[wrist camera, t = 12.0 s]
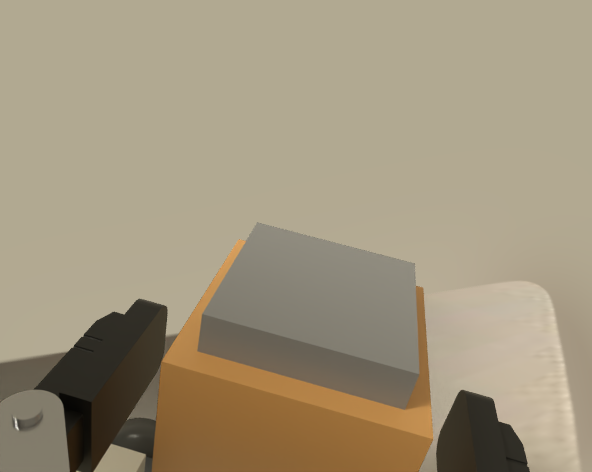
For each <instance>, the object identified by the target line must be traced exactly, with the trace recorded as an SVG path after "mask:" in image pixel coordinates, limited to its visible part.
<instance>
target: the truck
mask: <svg viewBox="0 0 592 472" xmlns="http://www.w3.org/2000/svg"><path fill="white" fill-rule="evenodd" d="M155 427H156V421H154V420H151V419H146V418H134V419H129V420H127V421H125V423H124V425H123V426H122V428H121V429H120V431H119V432H118V434H117V436H116V437H115V439H114V440H113V442H112V443H111V445H110V447H109V448H108V450H107V451H106V453H105V454H104V456H103V458H102V459H101V461H100V462H99V464H98V465H97V467H96V469H95V470H94V472H152V461H153V450H154V439H155ZM76 472H80V471H76Z"/></svg>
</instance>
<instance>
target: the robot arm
mask: <svg viewBox="0 0 592 472" xmlns="http://www.w3.org/2000/svg"><path fill="white" fill-rule="evenodd" d="M166 322H167V307H166V306H164V305H161V304H157V303H154V302H150V301H147V300H142V299H138V300H136V302H135V303H134V304H133V305H132V306H131V307H130V309H129V310H128V311H127V312H126V313H125V315H123V314H120V313H117V312H112V313H111V314H109V315H107V316H105V317H103V318H101V319H99V320H97V321H96V322H95V323H94V324H93V325H92V326H91V327H90V328H89V330H88V331H87V332H86V333H85V334H84V337H81V338H80V339H79V341H78V342H77V343H76V344H75V345H74V347H73V348H71V349H70V350H69V351H68V353H67V354H66V355H65V356H64V357H63V358H62V359H61V360H60V361H59V362H58V364H57V365H56V366H55V367H54V368H53V369H52V370H51V371H50V372H49V373H48V375H47V376H46V377H45V378H44V379H43V380H42V381H41V382H40V383H39V384H38V386H37V387H36V388H35V389H34V390H26V391H22V392H18V393H16V394H13V395H11V396H9V397H7V398H6V399H4V400H3V401H1V402H0V472H76V471H80V472H94V470H95V469H96V467H97V465H98V464H99V462H100V461H101V459H102V458H103V456H104V454H105V453H106V451H107V450H108V448H109V447H110V445H111V443H112V442H113V440H114V439H115V437H116V436H117V434H118V432H119V431H120V429H121V428H122V426H123V425H124V423H125V421H126V420H127V418H128V417H129V415H130V413H131V412H132V410H133V409H134V407H135V406H136V404H137V402H138V401H139V399H140V398H141V396H142V395H143V393H144V391H145V390H146V388H147V387H148V385H149V384H150V382H151V380H152V379H153V377H154V376H155V374H156V372H157V370H158V368H159V366H160V364H161V361H162V357H163V353H164V346H165V334H166ZM436 458H437V472H530V471H529V467H527V459H526V455H525V451H524V447H523V444H522V442H521V441H520V439H519V438H518V436H517V435H516V433H515V432H514V430H513V429H512V427H511V426H510V425H509V424H505V423H502V422H498V418H497V413H496V409H495V404H494V401H493V399H492V398H490V397H486V396H483V395H479V394H476V393H472V392H468V391H465V390H461V391H460V392H459V393H458V395H457V397H456V399H455V401H454V403H453V406H452V408H451V410H450V412H449V414H448V416H447V418H446V421H445V423H444V425H443V427H442V429H441V431H440V434H439V438H438V443H437V451H436Z"/></svg>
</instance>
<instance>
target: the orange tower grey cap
mask: <svg viewBox="0 0 592 472" xmlns="http://www.w3.org/2000/svg"><path fill="white" fill-rule="evenodd" d="M432 441H433V429H432V414H431V399H430V383H429V368H428V353H427V338H426V323H425V308H424V293H423V288H422V287H418V286H416V280H415V264H414V263H411V262H407V261H403V260H399V259H396V258H391V257H388V256H384V255H380V254H376V253H372V252H369V251H365V250H361V249H357V248H353V247H349V246H346V245H341V244H338V243H334V242H330V241H326V240H323V239H318V238H315V237H311V236H307V235H303V234H299V233H296V232H292V231H288V230H284V229H280V228H277V227H272V226H269V225H265V224H261V223H257V224H256V226H255V227H254V229H253V231H252V232H251V234H250V235H249V237H248V239H247V240H246V241H244V240H240V239H239V240H238V241H237V243H236V245H235V246H234V248H233V249H232V251H231V253H230V254H229V256H228V257H227V259H226V260H225V262H224V263H223V265H222V267H221V268H220V270H219V271H218V273H217V274H216V276H215V278H214V279H213V281H212V282H211V284H210V286H209V287H208V289H207V290H206V292H205V294H204V295H203V297H202V298H201V300H200V301H199V303H198V304H197V306H196V308H195V309H194V311H193V312H192V314H191V315H190V317H189V319H188V320H187V322H186V323H185V325H184V326H183V328H182V330H181V331H180V333H179V334H178V336H177V337H176V339H175V341H174V342H173V344H172V345H171V347H170V349H169V350H168V352H167V353H166V355H165V356H164V358H163V360H162V361H161V370H160V382H159V393H158V405H157V416H156V427H155V439H154V450H153V461H152V472H418V471H419V469H420V467H421V464H422V462H423V460H424V458H425V456H426V454H427V452H428V449H429V447H430V445H431V443H432Z"/></svg>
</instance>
